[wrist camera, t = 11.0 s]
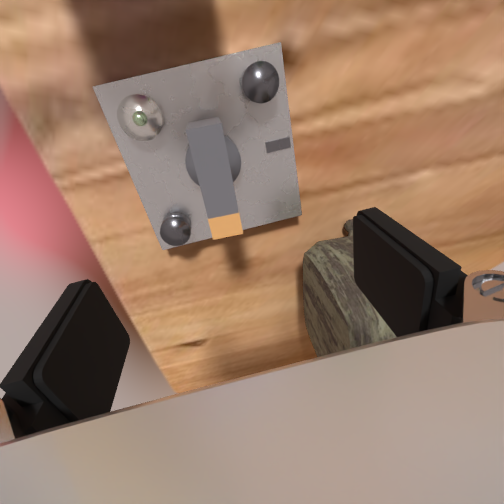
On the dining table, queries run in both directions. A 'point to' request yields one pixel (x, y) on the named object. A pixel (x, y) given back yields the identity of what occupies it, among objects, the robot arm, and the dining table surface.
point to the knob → (215, 174)
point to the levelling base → (234, 127)
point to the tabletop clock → (338, 299)
